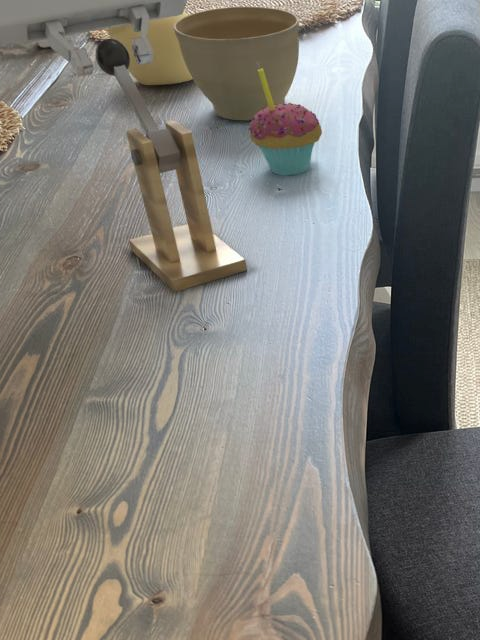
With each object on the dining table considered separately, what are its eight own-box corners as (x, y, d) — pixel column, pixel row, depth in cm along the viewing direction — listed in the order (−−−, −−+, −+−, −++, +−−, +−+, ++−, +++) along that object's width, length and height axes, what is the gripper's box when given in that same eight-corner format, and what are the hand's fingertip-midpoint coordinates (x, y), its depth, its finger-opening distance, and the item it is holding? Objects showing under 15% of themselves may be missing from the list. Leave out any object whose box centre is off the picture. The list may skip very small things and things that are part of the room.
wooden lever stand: (131, 250, 108) (97, 123, 99) (200, 231, 111) (173, 106, 102) (174, 292, 101) (141, 158, 92) (247, 270, 104) (222, 139, 95)
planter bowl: (264, 138, 131) (249, 44, 124) (168, 121, 137) (147, 30, 129) (332, 100, 141) (321, 12, 134) (239, 86, 147) (224, 0, 139)
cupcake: (266, 186, 120) (247, 75, 111) (247, 162, 125) (228, 55, 117) (334, 173, 122) (321, 64, 114) (313, 150, 128) (299, 44, 119)
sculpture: (154, 66, 155) (136, -16, 147) (222, 73, 151) (206, -10, 144) (110, 89, 147) (88, 4, 140) (179, 97, 144) (161, 10, 136)
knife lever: (90, 59, 100) (88, 33, 97) (121, 53, 101) (120, 28, 98) (153, 177, 99) (154, 155, 96) (184, 170, 100) (185, 148, 97)
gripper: (-61, -80, 91) (9, 66, 92) (154, -107, 99) (215, 27, 100) (-54, -31, 97) (11, 106, 98) (148, -60, 105) (206, 66, 106)
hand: (116, 66), depth 99 cm, fingers open, 5 cm apart
